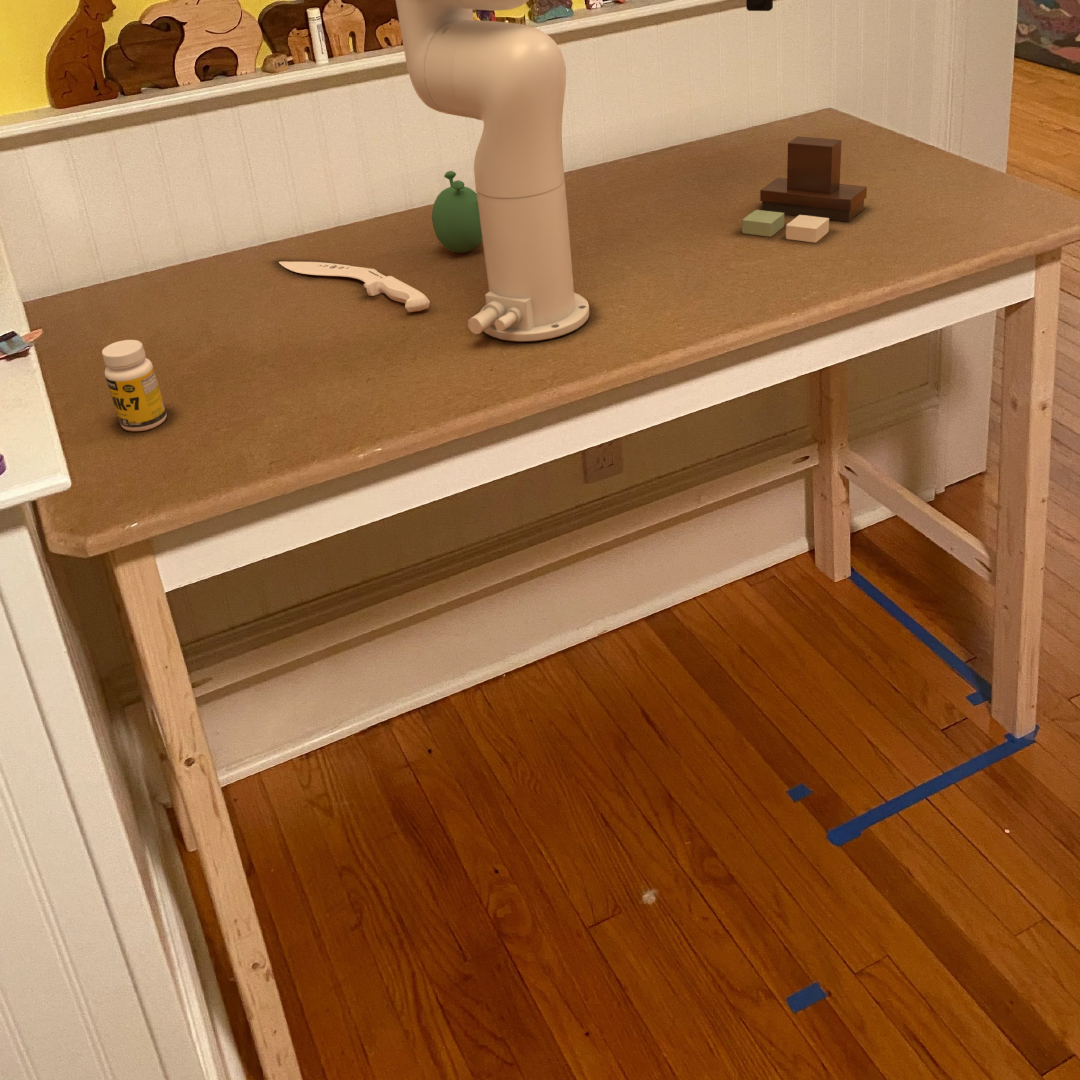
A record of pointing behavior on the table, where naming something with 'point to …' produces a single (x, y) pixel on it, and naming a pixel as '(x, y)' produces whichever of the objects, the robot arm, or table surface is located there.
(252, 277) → the table surface
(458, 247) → the alien toy
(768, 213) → the chip
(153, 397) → the supplement bottle
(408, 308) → the knife
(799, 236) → the chip
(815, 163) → the brown inverted t block
